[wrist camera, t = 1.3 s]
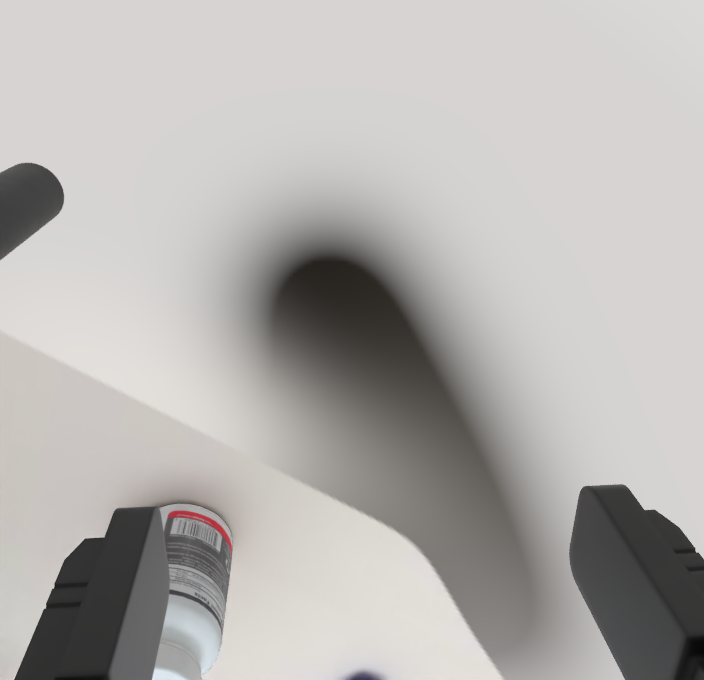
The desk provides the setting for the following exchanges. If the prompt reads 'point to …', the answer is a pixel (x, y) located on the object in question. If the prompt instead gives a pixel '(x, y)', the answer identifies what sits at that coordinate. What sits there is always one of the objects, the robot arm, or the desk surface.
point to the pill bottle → (193, 591)
